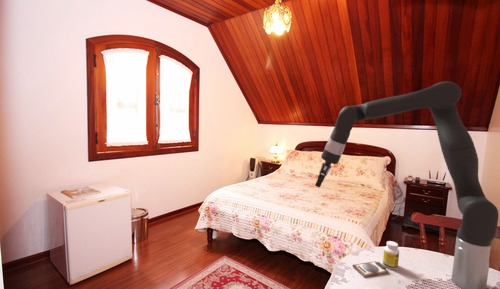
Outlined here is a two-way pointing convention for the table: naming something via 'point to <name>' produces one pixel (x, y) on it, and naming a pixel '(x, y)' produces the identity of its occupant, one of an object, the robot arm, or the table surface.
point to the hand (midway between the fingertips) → (318, 183)
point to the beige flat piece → (371, 269)
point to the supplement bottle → (391, 255)
